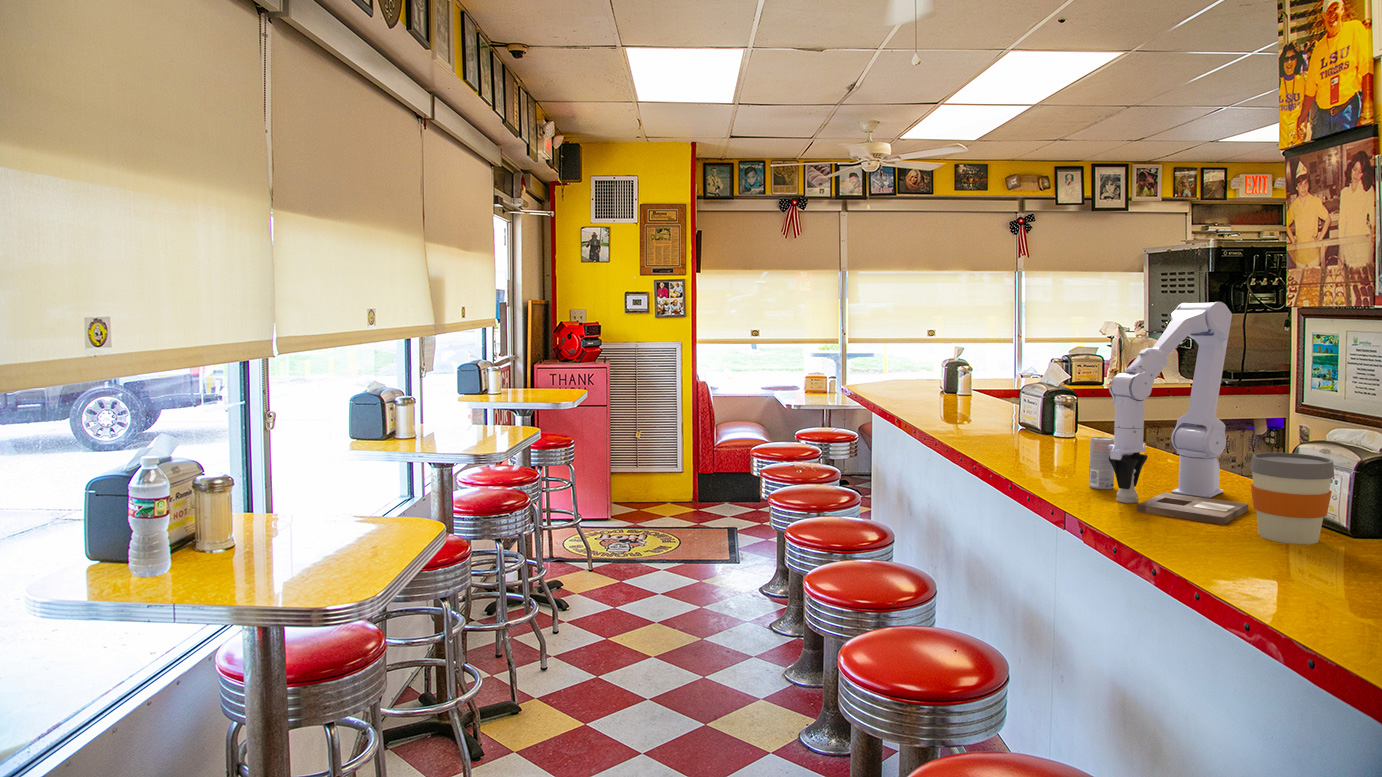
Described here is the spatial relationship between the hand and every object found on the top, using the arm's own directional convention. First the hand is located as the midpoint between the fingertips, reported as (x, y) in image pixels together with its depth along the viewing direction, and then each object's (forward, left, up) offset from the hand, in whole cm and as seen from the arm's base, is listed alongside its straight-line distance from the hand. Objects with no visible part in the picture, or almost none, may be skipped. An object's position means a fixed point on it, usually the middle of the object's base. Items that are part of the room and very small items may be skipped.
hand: (1127, 487), depth 181 cm
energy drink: (-11, -10, -3) cm, 15 cm away
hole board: (0, +13, -3) cm, 13 cm away
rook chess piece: (0, 0, -3) cm, 3 cm away
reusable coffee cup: (+10, +32, -3) cm, 34 cm away
